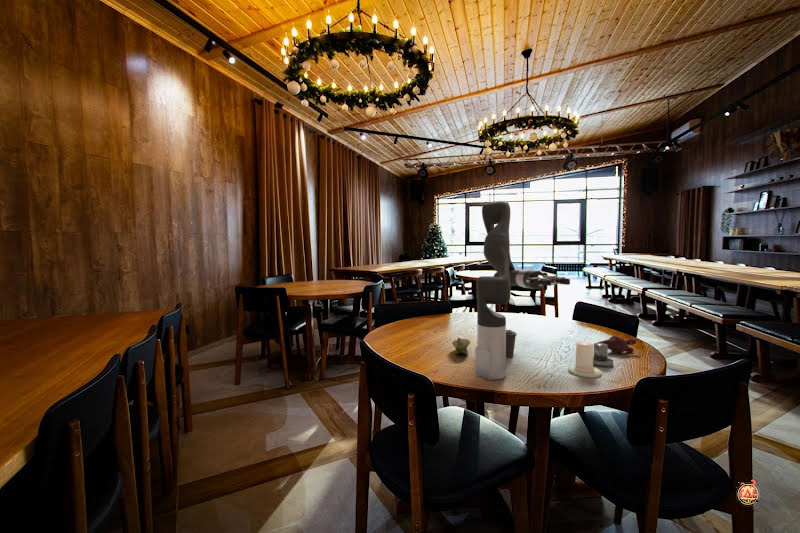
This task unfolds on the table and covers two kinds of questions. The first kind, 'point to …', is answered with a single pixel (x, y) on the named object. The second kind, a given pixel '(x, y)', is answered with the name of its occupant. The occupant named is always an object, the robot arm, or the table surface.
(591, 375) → the coaster
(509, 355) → the coffee cup
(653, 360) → the table surface
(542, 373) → the table surface
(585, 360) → the cream white cylinder
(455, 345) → the fruit
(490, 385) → the table surface
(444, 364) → the table surface
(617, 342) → the brown turtle figurine
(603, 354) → the dark grey stepped piece
